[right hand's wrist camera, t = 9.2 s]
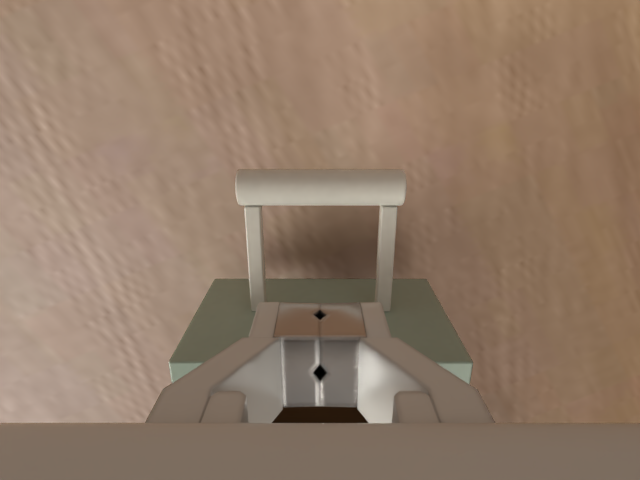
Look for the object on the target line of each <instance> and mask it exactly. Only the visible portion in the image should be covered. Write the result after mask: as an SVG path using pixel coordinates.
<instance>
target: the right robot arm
mask: <svg viewBox="0 0 640 480" xmlns="http://www.w3.org/2000/svg"><path fill="white" fill-rule="evenodd" d="M315 406H324V407H357V409H358V410H359V412H360V413H361V414H362V415H363V417H364V418H365V419H366V420H367V421H368V423H272V422H273V421H274V419H275V418H276V417H277V416H278V415H279V413H280V412H281V411H282V410H283V407H315ZM0 480H640V423H495V422H494V420H493V418H492V416H491V414H490V412H489V411H488V409H487V407H486V405H485V403H484V401H483V399H482V397H481V395H480V393H479V391H478V390H477V389H475V388H474V387H472V386H471V385H469V384H468V383H466V382H465V381H463V380H462V379H460V378H459V377H457V376H456V375H454V374H452V373H451V372H449V371H448V370H446V369H445V368H443V367H442V366H440V365H439V364H437V363H436V362H434V361H433V360H431V359H429V358H428V357H426V356H425V355H423V354H422V353H420V352H419V351H417V350H416V349H414V348H413V347H411V346H410V345H408V344H407V343H405V342H403V341H402V340H400V339H399V338H396V337H391V334H390V330H389V327H388V324H387V320H386V317H385V314H384V310H383V307H382V304H381V303H380V302H363V303H360V302H347V303H292V302H281V303H280V302H260V303H259V304H258V306H257V310H256V313H255V317H254V320H253V323H252V327H251V330H250V334H249V337H244V338H241V339H240V340H238V341H237V342H235V343H233V344H232V345H230V346H229V347H227V348H226V349H224V350H223V351H221V352H220V353H218V354H217V355H215V356H213V357H212V358H210V359H209V360H207V361H206V362H204V363H203V364H201V365H200V366H198V367H197V368H195V369H193V370H192V371H190V372H189V373H187V374H186V375H184V376H183V377H181V378H180V379H178V380H177V381H175V382H173V383H172V384H170V385H169V386H167V387H166V388H164V389H163V390H162V392H161V394H160V396H159V398H158V399H157V401H156V403H155V405H154V407H153V409H152V411H151V413H150V414H149V416H148V418H147V420H146V422H145V423H0Z"/></svg>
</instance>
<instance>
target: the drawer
mask: <svg viewBox="0 0 640 480" xmlns="http://www.w3.org/2000/svg"><path fill="white" fill-rule="evenodd" d="M235 190H236V198H237V202H238V204H239V205H241V206H245V208H244V212H245V227H246V242H247V256H248V271H249V279H215V280H214V281H213V283H212V285H211V287H210V289H209V290H208V292H207V294H206V296H205V298H204V299H203V301H202V303H201V305H200V307H199V308H198V310H197V312H196V314H195V316H194V317H193V319H192V321H191V323H190V325H189V327H188V328H187V330H186V332H185V334H184V336H183V337H182V339H181V341H180V343H179V345H178V346H177V348H176V350H175V352H174V354H173V355H172V357H171V359H170V361H169V368H170V374H171V380H172V383H173V382H175V381H177V380H178V379H180V378H181V377H183V376H184V375H186V374H187V373H189V372H190V371H192V370H193V369H195V368H197V367H198V366H200V365H201V364H203V363H204V362H206V361H207V360H209V359H210V358H212V357H213V356H215V355H217V354H218V353H220V352H221V351H223V350H224V349H226V348H227V347H229V346H230V345H232V344H233V343H235V342H237V341H238V340H240V339H241V338H244V337H249V334H250V330H251V327H252V323H253V320H254V317H255V313H256V310H257V306H258V304H259V303H260V302H280V303H281V302H292V303H347V302H360V303H363V302H380V303H381V304H382V307H383V310H384V314H385V317H386V320H387V324H388V327H389V330H390V334H391V337H396V338H399V339H400V340H402V341H403V342H405V343H407V344H408V345H410V346H411V347H413V348H414V349H416V350H417V351H419V352H420V353H422V354H423V355H425V356H426V357H428V358H429V359H431V360H433V361H434V362H436V363H437V364H439V365H440V366H442V367H443V368H445V369H446V370H448V371H449V372H451V373H452V374H454V375H456V376H457V377H459V378H460V379H462V380H463V381H465V382H466V383H468V384H469V385H470V379H471V372H472V366H473V361H472V360H471V358H470V356H469V354H468V352H467V351H466V349H465V347H464V345H463V344H462V342H461V340H460V338H459V336H458V335H457V333H456V331H455V329H454V327H453V326H452V324H451V322H450V320H449V318H448V317H447V315H446V313H445V311H444V310H443V308H442V306H441V304H440V302H439V301H438V299H437V297H436V295H435V293H434V292H433V290H432V288H431V286H430V285H429V283H428V281H427V279H393V265H394V251H395V237H396V222H397V206H401V205H403V204H404V201H405V197H406V175H405V171H404V170H403V169H239V170H238V171H237V174H236V181H235ZM262 206H380V212H379V231H378V250H377V268H376V279H266V278H265V259H264V239H263V220H262ZM272 423H368V421H367V420H366V419H365V418H364V417H363V415H362V414H361V413H360V412H359V410H358V409H357V407H324V406H315V407H283V410H282V411H281V412H280V413H279V415H278V416H277V417H276V418H275V419H274V421H273V422H272Z"/></svg>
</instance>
